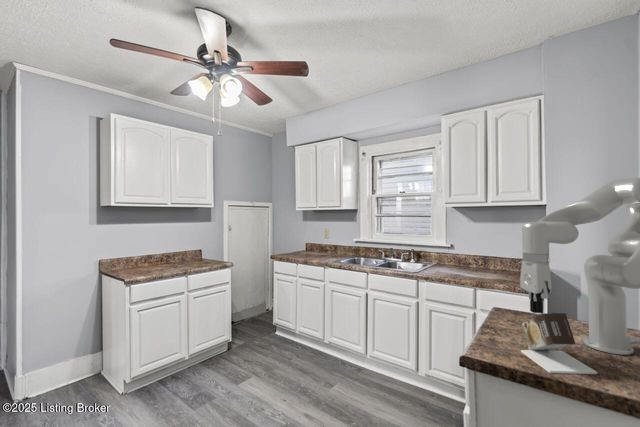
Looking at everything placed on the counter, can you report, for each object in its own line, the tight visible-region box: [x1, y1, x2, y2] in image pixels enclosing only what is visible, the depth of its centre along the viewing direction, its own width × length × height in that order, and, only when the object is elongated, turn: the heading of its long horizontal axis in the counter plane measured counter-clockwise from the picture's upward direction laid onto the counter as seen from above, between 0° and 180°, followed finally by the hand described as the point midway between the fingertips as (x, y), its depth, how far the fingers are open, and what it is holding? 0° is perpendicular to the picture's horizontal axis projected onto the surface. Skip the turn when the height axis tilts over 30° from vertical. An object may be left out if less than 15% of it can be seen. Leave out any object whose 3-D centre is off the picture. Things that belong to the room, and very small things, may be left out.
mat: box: [520, 349, 598, 375], centre depth 95 cm, size 13×14×1 cm
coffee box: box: [521, 312, 576, 351], centre depth 99 cm, size 9×6×16 cm
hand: (536, 312), depth 104 cm, fingers closed
